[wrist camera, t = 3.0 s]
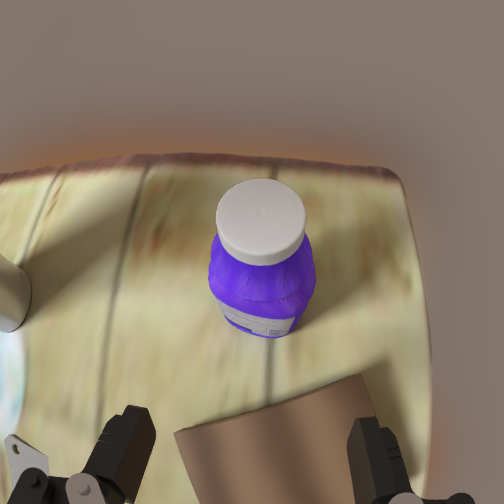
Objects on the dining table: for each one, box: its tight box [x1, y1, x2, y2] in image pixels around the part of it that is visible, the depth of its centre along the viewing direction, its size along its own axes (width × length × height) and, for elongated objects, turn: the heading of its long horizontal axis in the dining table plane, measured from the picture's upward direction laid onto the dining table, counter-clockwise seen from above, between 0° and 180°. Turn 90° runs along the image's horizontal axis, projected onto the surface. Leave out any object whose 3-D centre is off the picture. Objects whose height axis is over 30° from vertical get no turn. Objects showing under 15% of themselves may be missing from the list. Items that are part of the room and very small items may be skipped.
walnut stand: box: [173, 374, 375, 504], centre depth 20 cm, size 16×14×4 cm
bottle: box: [208, 178, 316, 338], centre depth 21 cm, size 7×6×17 cm
